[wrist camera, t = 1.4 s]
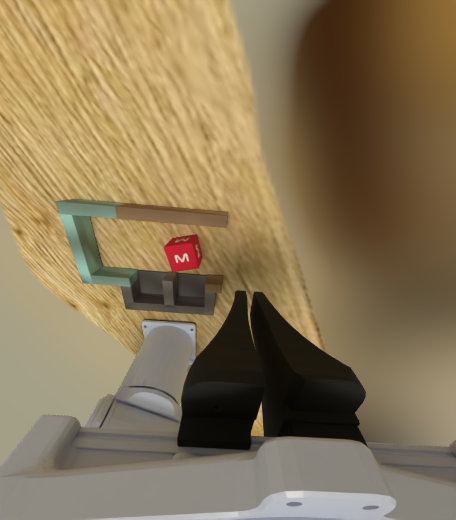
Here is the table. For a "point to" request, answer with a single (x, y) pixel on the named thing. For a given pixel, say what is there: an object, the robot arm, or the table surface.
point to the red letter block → (183, 253)
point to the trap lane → (133, 280)
